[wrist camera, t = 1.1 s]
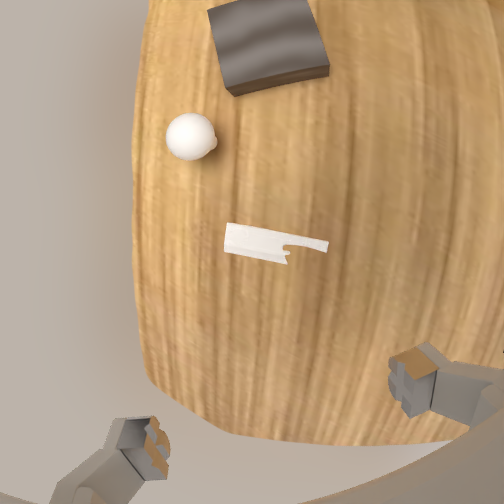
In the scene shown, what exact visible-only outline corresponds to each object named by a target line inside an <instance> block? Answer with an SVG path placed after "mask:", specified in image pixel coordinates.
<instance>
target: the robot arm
mask: <svg viewBox="0 0 504 504" xmlns="http://www.w3.org/2000/svg"><path fill="white" fill-rule="evenodd" d="M389 368H390V369H391V370H392V371H391V373H390V375H389V376H388V385H389V389H390V392H391V394H392V396H393V397H394V398H395V400H398V401H401V402H402V404H401V408H402V409H403V410H404V412H405V413H406V414H407V416H408V417H409V418H413V417H415V416H417V415H419V414H422V413H424V412H426V411H428V410H430V409H431V411H433V412H435V413H438V414H440V415H443V416H445V417H448V418H450V419H453V420H455V421H458V422H461V423H463V424H466V425H468V426H470V428H469V431H468V432H466V433H465V434H463V435H462V436H460V437H458V438H457V439H455V440H453V441H452V442H450V443H448V444H446V445H445V446H443V447H441V448H440V449H438V450H436V451H434V452H432V453H430V454H428V455H426V456H424V457H423V458H421V459H419V460H417V461H415V462H413V463H411V464H408V465H406V466H404V467H402V468H400V469H398V470H396V471H393V472H391V473H389V474H386V475H384V476H382V477H379V478H377V479H374V480H372V481H369V482H367V483H364V484H361V485H358V486H356V487H353V488H350V489H347V490H344V491H341V492H339V493H335V494H332V495H329V496H325V497H322V498H319V499H315V500H311V501H307V502H304V503H299V504H504V369H498V368H491V367H485V366H480V365H474V364H468V363H463V362H457V361H454V362H451V361H450V360H448V359H447V358H446V357H445V356H444V355H443V354H441V353H440V352H439V351H438V350H437V349H435V348H434V347H433V346H432V345H431V344H430V343H428V342H424V343H422V344H420V345H418V346H415V347H414V348H411V349H409V350H407V351H404V352H402V353H400V354H397V355H395V356H392V357H390V359H389ZM159 425H160V423H159V422H158V420H157V418H156V417H155V416H144V417H128V418H116V419H114V420H113V422H112V425H111V428H110V430H109V433H108V436H107V438H106V441H105V444H104V447H103V449H99V450H98V451H96V452H95V453H94V454H93V455H92V456H91V457H89V458H88V459H87V460H85V461H84V462H83V463H82V464H80V465H79V466H78V467H77V468H75V469H74V470H73V471H72V472H70V473H69V474H68V475H67V476H66V477H64V478H63V479H61V480H60V481H59V482H58V483H57V485H56V488H55V490H54V493H53V495H52V498H51V500H50V503H49V504H128V503H129V501H130V500H131V499H132V497H133V496H134V495H135V494H136V493H137V491H138V490H139V489H140V488H141V486H142V485H143V484H144V482H145V481H149V480H166V479H167V475H168V467H169V465H168V464H167V462H166V459H167V458H168V457H169V456H170V443H169V440H168V437H167V435H166V433H165V432H164V431H162V430H161V429H159ZM0 504H37V503H33V502H29V501H26V500H22V499H19V498H16V497H13V496H9V495H7V494H4V493H1V492H0Z"/></svg>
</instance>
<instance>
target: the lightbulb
mask: <svg viewBox="0 0 504 504" xmlns="http://www.w3.org/2000/svg"><path fill="white" fill-rule="evenodd" d="M166 143H167V146H168V148H169V150H170V151H171V153H172V154H173V155H175V156H176V157H178V158H179V159H182V160H188V161H191V160H197V159H199V158H201V157H203V156H205V155H206V154H207V153H208V152H209V151H210V150H213V149H214V148H215V147H216V146H217V138H216V136H215V132H214V128H213V126H212V124H211V122H210V121H209V120H208V119H207V118H206V117H204V116H202V115H200V114H197V113H185V114H182V115H180V116H178V117H177V118H175V119H174V120H173V121H172V122H171V123H170V125H169V127H168V129H167V132H166Z"/></svg>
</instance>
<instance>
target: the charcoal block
mask: <svg viewBox="0 0 504 504" xmlns="http://www.w3.org/2000/svg"><path fill="white" fill-rule="evenodd" d="M207 12H208V16H209V21H210V25H211V29H212V33H213V38H214V42H215V46H216V50H217V55H218V59H219V63H220V68H221V72H222V76H223V81H224V85H225V88H226V89H227V90H228V91H229V92H230V93H231V94H232V95H233V96H239V95H243V94H247V93H250V92H254V91H258V90H262V89H267V88H271V87H275V86H280V85H284V84H289V83H294V82H299V81H304V80H309V79H315V78H320V77H326V76H329V67H330V64H329V61H328V57H327V54H326V51H325V48H324V45H323V42H322V40H321V37H320V34H319V31H318V28H317V25H316V23H315V20H314V17H313V15H312V12H311V10H310V7H309V4H308V2H307V0H237V1H234V2H230V3H227V4H224V5H221V6H217V7H214V8H211V9H208V10H207Z"/></svg>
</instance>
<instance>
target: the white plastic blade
mask: <svg viewBox="0 0 504 504" xmlns="http://www.w3.org/2000/svg"><path fill="white" fill-rule="evenodd" d="M328 243H329V241H325V240H320V239H315V238H310V237H304V236H299V235H294V234H289V233H284V232H279V231H274V230H269V229H265V228H260V227H259V228H258V227H255V226H254V227H253V226H250V225H241V224H236V223H231V222H227V227H226V234H225V241H224V252H229V253H234V254H239V255H243V256H248V257H253V258H258V259H263V260H268V261H273V262H278V263H283V264H288V263H287V261H286V258H285V255H286V254H290V251H286V250H283V246H285V245H298V246H305V247H309V248H313V249H316V250H319V251H322V252H325V253H327V248H328Z"/></svg>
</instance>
